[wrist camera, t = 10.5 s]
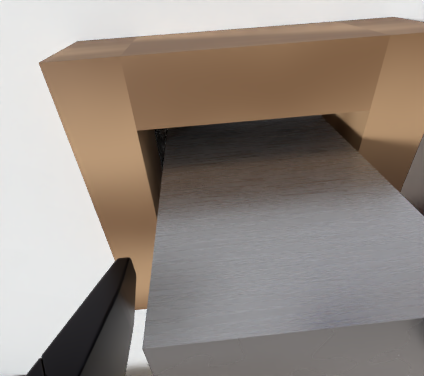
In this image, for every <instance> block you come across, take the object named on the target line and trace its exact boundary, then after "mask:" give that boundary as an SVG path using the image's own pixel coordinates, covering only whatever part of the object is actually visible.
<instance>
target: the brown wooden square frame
mask: <svg viewBox="0 0 424 376" xmlns="http://www.w3.org/2000/svg"><path fill="white" fill-rule="evenodd" d="M39 65H40V67H41V70H42V73H43V75H44V78H45V80H46V83H47V86H48V88H49V91H50V93H51V96H52V99H53V101H54V104H55V106H56V109H57V111H58V114H59V117H60V119H61V122H62V124H63V127H64V130H65V132H66V135H67V137H68V140H69V143H70V145H71V148H72V150H73V153H74V156H75V158H76V161H77V163H78V166H79V169H80V171H81V174H82V176H83V179H84V181H85V184H86V187H87V189H88V192H89V194H90V197H91V200H92V202H93V205H94V207H95V210H96V213H97V215H98V218H99V220H100V223H101V226H102V228H103V231H104V233H105V236H106V239H107V241H108V244H109V246H110V249H111V251H112V254H113V257H114V259H115V261H116V260H117V259H118V258H124V257H130V258H131V260H132V263H133V266H134V269H135V272H136V296H135V310H139V309H147V304H148V296H149V287H150V278H151V269H152V261H153V252H154V243H155V234H156V226H157V217H158V208H159V199H160V190H161V182H162V173H163V172H162V167H161V162H160V156H159V151H158V146H157V140H156V135H155V130H154V129H161V128H173V127H184V126H196V125H208V124H219V123H231V122H242V121H254V120H266V119H277V118H289V117H300V116H312V115H321V116H322V117H323V118H324V119H325V120H326V121H327V122H328V123H329V124H330V125H331V126H332V127H333V128H334V129H335V130H336V131H337V132H338V133H339V134H340V135H341V136H342V137H343V138H344V139H345V140H346V141H347V142H348V143H349V144H350V145H351V146H352V147H353V148H354V149H356V150H357V151H358V152H359V153H360V154H361V155H362V156H363V157H364V158H365V159H366V160H367V161H368V162H369V163H370V164H371V165H372V166H373V167H374V168H375V169H376V170H377V171H378V172H379V173H380V174H381V175H382V176H383V177H384V178H385V179H386V180H387V181H388V182H389V183H390V184H391V185H392V186H393V187H394V188H395V189H397V190H398V191H399V192H400V191H401V189H402V186H403V184H404V181H405V179H406V176H407V174H408V171H409V169H410V166H411V164H412V161H413V159H414V157H415V154H416V152H417V149H418V147H419V144H420V142H421V139H422V137H423V134H424V22H420V21H414V20H408V19H402V18H396V17H387V18H374V19H361V20H348V21H335V22H322V23H309V24H296V25H283V26H270V27H257V28H244V29H231V30H218V31H205V32H192V33H179V34H166V35H153V36H140V37H127V38H114V39H101V40H88V41H77V42H75V43H74V44H72V45H70V46H68V47H66V48H65V49H63V50H61V51H59V52H57V53H56V54H54V55H52V56H50V57H48V58H47V59H45V60H43V61H41V62H39Z"/></svg>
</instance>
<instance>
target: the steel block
mask: <svg viewBox="0 0 424 376" xmlns="http://www.w3.org/2000/svg"><path fill="white" fill-rule="evenodd" d="M142 349H143V352H144V354H145V356H146V359H147V361H148V363H149V366H150V368H151V371H152V373H153V375H154V376H424V216H423V215H422V214H421V213H420V212H419V211H418V210H417V209H416V208H415V207H414V206H413V205H412V204H411V203H410V202H409V201H408V200H407V199H406V198H405V197H404V196H403V195H402V194H401V193H400V192H399V191H398V190H397V189H395V188H394V187H393V186H392V185H391V184H390V183H389V182H388V181H387V180H386V179H385V178H384V177H383V176H382V175H381V174H380V173H379V172H378V171H377V170H376V169H375V168H374V167H373V166H372V165H371V164H370V163H369V162H368V161H367V160H366V159H365V158H364V157H363V156H362V155H361V154H360V153H359V152H358V151H357V150H356V149H354V148H353V147H352V146H351V145H350V144H349V143H348V142H347V141H346V140H345V139H344V138H343V137H342V136H341V135H340V134H339V133H338V132H337V131H336V130H335V129H334V128H333V127H332V126H331V125H330V124H329V123H328V122H327V121H326V120H325V119H324V118H323V117H322V116H321V115H312V116H300V117H289V118H277V119H266V120H254V121H242V122H231V123H219V124H208V125H196V126H184V127H173V128H168V129H167V138H166V147H165V155H164V164H163V173H162V182H161V190H160V199H159V208H158V217H157V226H156V234H155V243H154V252H153V261H152V269H151V278H150V287H149V296H148V304H147V313H146V322H145V331H144V340H143V348H142Z"/></svg>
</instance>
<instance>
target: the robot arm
mask: <svg viewBox="0 0 424 376" xmlns="http://www.w3.org/2000/svg"><path fill="white" fill-rule="evenodd" d="M135 296H136V272H135V269H134V266H133V263H132V260H131V258H130V257H124V258H118V259H117V260H116V261H115V262H114V263H113V265H112V266H111V267H110V268H109V270H108V271H107V272H106V274H105V275H104V276H103V277H102V279H101V280H100V281H99V283H98V284H97V285H96V286H95V288H94V289H93V290H92V291H91V293H90V294H89V295H88V297H87V298H86V299H85V300H84V302H83V303H82V304H81V306H80V307H79V308H78V309H77V311H76V312H75V313H74V315H73V316H72V317H71V318H70V320H69V321H68V322H67V324H66V325H65V326H64V327H63V329H62V330H61V331H60V333H59V334H58V335H57V336H56V338H55V339H54V340H53V342H52V343H51V344H50V345H49V347H48V348H47V349H46V351H45V352H44V353H43V354H42V358H39V359H38V361H37V362H36V363H35V364H34V366H33V367H32V368H31V370H30V371H29V372H28V373H27V375H26V376H125V373H126V367H127V361H128V356H129V350H130V344H131V338H132V332H133V326H134V313H135Z"/></svg>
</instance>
